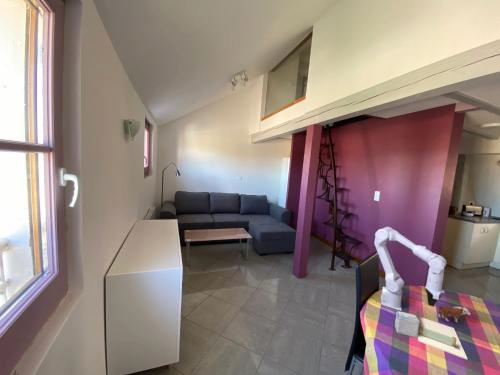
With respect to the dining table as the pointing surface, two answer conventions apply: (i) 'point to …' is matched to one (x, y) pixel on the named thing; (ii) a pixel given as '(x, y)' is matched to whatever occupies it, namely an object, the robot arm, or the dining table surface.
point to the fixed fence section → (418, 316)
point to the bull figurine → (452, 312)
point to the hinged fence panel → (437, 336)
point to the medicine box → (406, 324)
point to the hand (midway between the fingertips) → (430, 305)
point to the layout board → (437, 344)
